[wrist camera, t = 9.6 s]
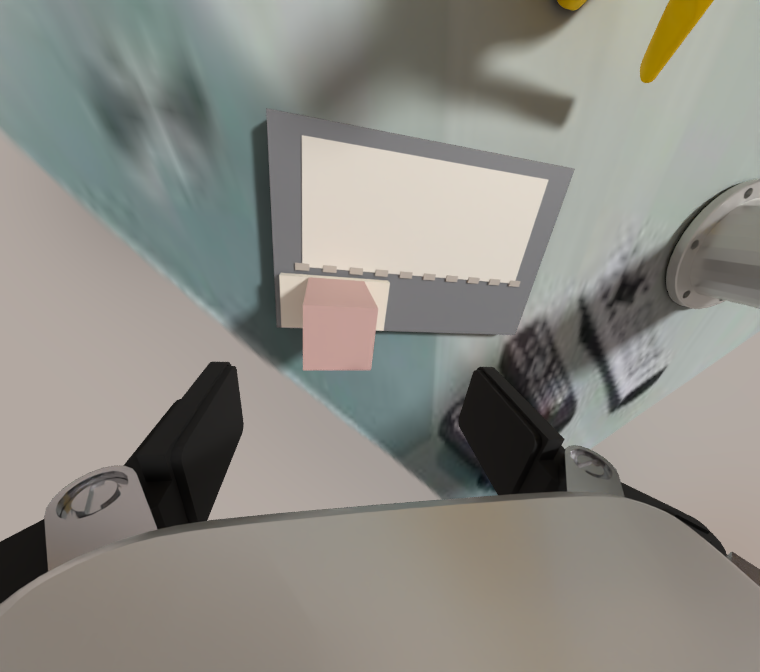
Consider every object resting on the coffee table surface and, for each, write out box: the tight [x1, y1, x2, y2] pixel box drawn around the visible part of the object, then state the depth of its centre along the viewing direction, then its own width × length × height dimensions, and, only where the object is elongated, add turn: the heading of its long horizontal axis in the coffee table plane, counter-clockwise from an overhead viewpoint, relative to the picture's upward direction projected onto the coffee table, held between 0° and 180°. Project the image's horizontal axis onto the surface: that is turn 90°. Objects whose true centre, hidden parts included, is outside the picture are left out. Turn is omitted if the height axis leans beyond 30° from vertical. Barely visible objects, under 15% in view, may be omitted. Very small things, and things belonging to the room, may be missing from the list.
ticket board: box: [266, 108, 575, 335], centre depth 22 cm, size 22×14×2 cm, turn 83°
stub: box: [279, 273, 390, 370], centre depth 18 cm, size 8×4×7 cm, turn 83°
